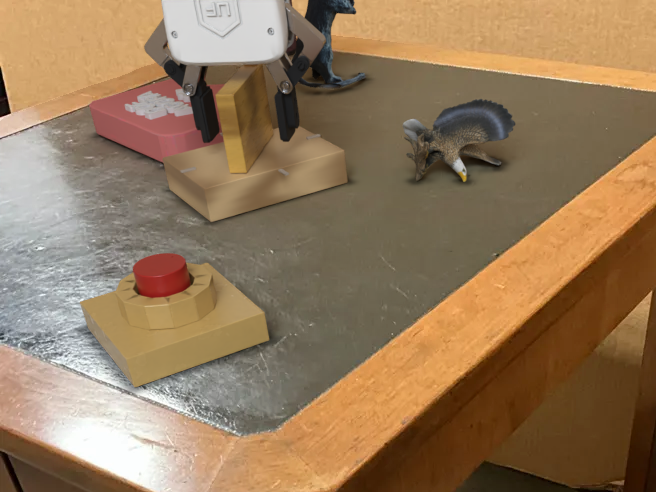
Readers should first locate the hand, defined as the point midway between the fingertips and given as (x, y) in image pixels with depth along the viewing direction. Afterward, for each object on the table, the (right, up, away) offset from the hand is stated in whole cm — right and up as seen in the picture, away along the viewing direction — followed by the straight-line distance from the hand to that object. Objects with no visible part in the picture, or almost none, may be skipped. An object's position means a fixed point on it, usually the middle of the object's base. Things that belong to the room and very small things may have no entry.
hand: (249, 135), depth 82 cm
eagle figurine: (+19, -3, +3) cm, 19 cm away
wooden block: (0, -1, +1) cm, 2 cm away
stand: (0, -3, +3) cm, 5 cm away
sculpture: (+6, +18, +27) cm, 33 cm away
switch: (-2, -22, -17) cm, 28 cm away
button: (-2, -20, -20) cm, 28 cm away
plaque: (-9, +7, +16) cm, 20 cm away
